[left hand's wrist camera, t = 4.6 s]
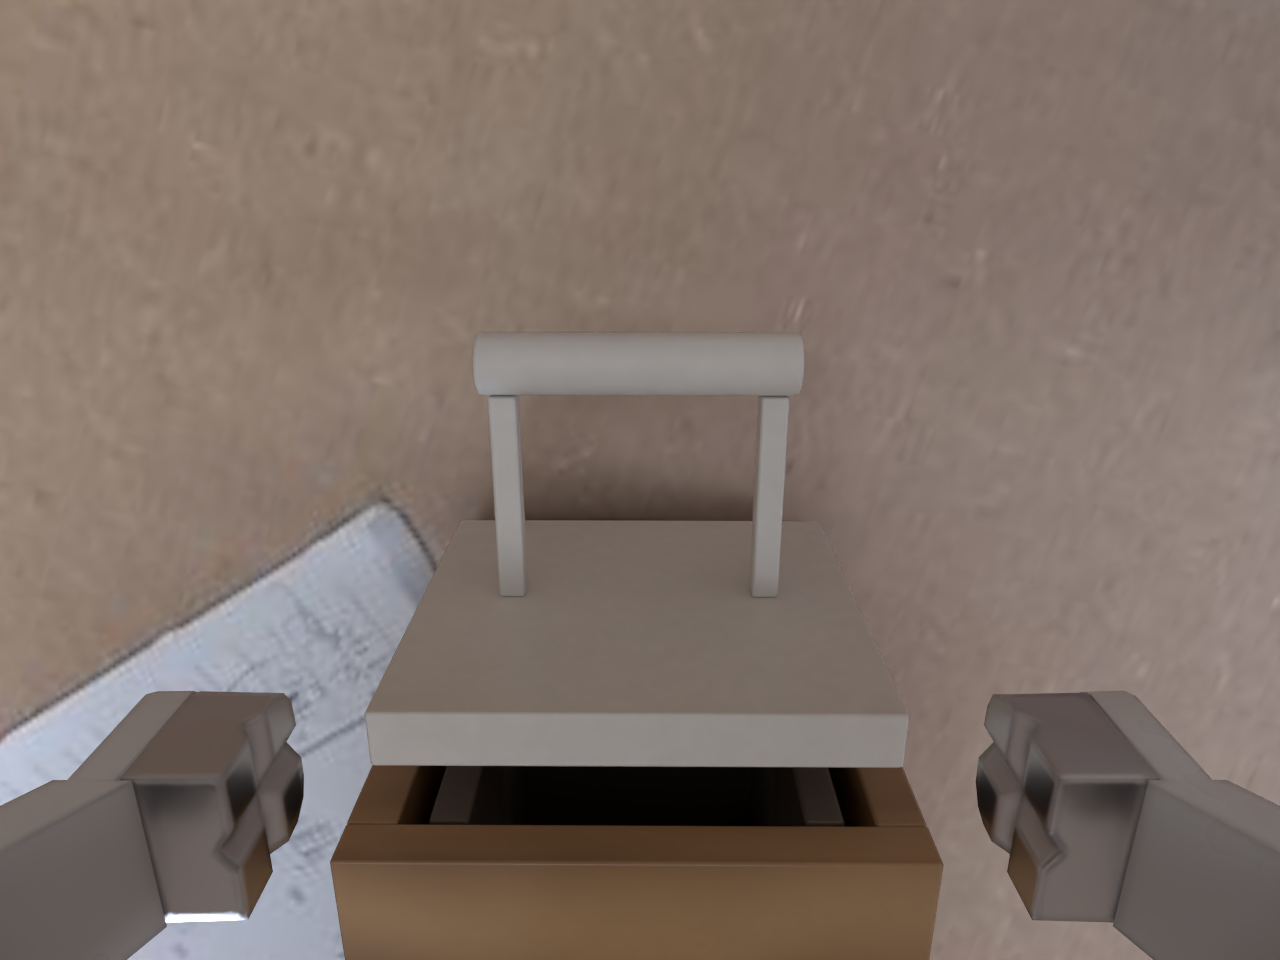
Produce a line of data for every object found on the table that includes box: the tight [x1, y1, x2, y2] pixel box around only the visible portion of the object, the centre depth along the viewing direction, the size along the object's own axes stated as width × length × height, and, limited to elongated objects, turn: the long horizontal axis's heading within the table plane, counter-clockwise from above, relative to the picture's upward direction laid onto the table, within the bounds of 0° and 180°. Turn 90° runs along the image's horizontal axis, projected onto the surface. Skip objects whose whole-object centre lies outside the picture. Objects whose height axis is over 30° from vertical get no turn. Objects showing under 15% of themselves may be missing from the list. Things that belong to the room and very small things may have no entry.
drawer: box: [365, 332, 909, 827], centre depth 22 cm, size 23×10×9 cm, turn 0°
